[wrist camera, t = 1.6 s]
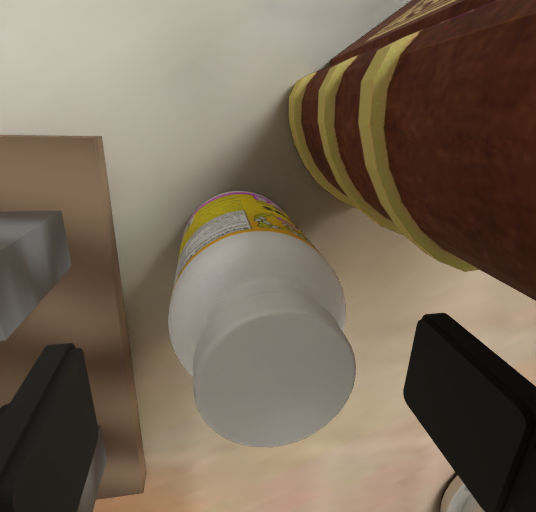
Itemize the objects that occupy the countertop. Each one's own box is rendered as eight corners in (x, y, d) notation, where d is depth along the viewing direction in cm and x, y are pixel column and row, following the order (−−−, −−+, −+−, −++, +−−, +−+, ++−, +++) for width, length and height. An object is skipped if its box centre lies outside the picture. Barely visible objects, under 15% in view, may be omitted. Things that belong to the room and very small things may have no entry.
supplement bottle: (308, 261, 23) (418, 411, 11) (217, 309, 23) (231, 506, 12) (262, 166, 21) (340, 232, 9) (159, 221, 21) (102, 358, 9)
